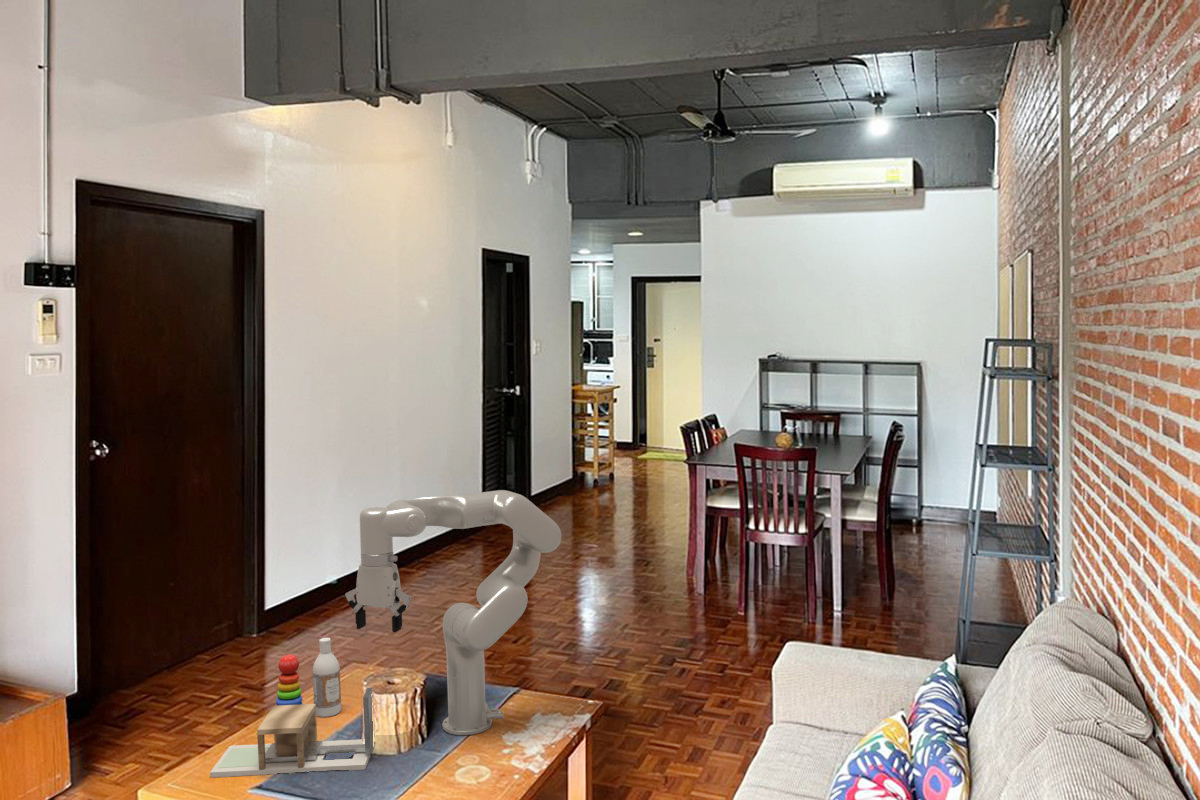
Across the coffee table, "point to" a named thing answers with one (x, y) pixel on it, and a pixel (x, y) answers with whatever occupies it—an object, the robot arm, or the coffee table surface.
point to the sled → (317, 748)
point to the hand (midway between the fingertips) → (378, 629)
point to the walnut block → (290, 742)
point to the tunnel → (288, 727)
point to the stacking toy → (289, 682)
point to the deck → (247, 763)
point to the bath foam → (326, 681)
